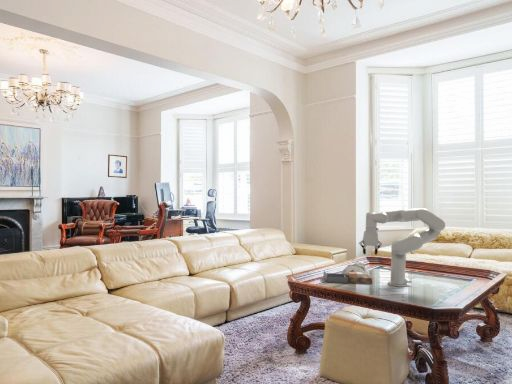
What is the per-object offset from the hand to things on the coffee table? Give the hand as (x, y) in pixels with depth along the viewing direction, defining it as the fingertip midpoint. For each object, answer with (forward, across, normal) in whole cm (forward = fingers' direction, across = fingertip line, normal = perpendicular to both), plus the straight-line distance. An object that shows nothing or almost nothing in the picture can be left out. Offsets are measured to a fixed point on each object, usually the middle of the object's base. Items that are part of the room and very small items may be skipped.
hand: (370, 254), depth 272 cm
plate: (+20, +8, 0) cm, 21 cm away
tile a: (+16, +7, 0) cm, 17 cm away
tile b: (+16, +12, 0) cm, 20 cm away
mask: (+20, +3, -28) cm, 34 cm away
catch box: (+20, +24, 0) cm, 31 cm away
